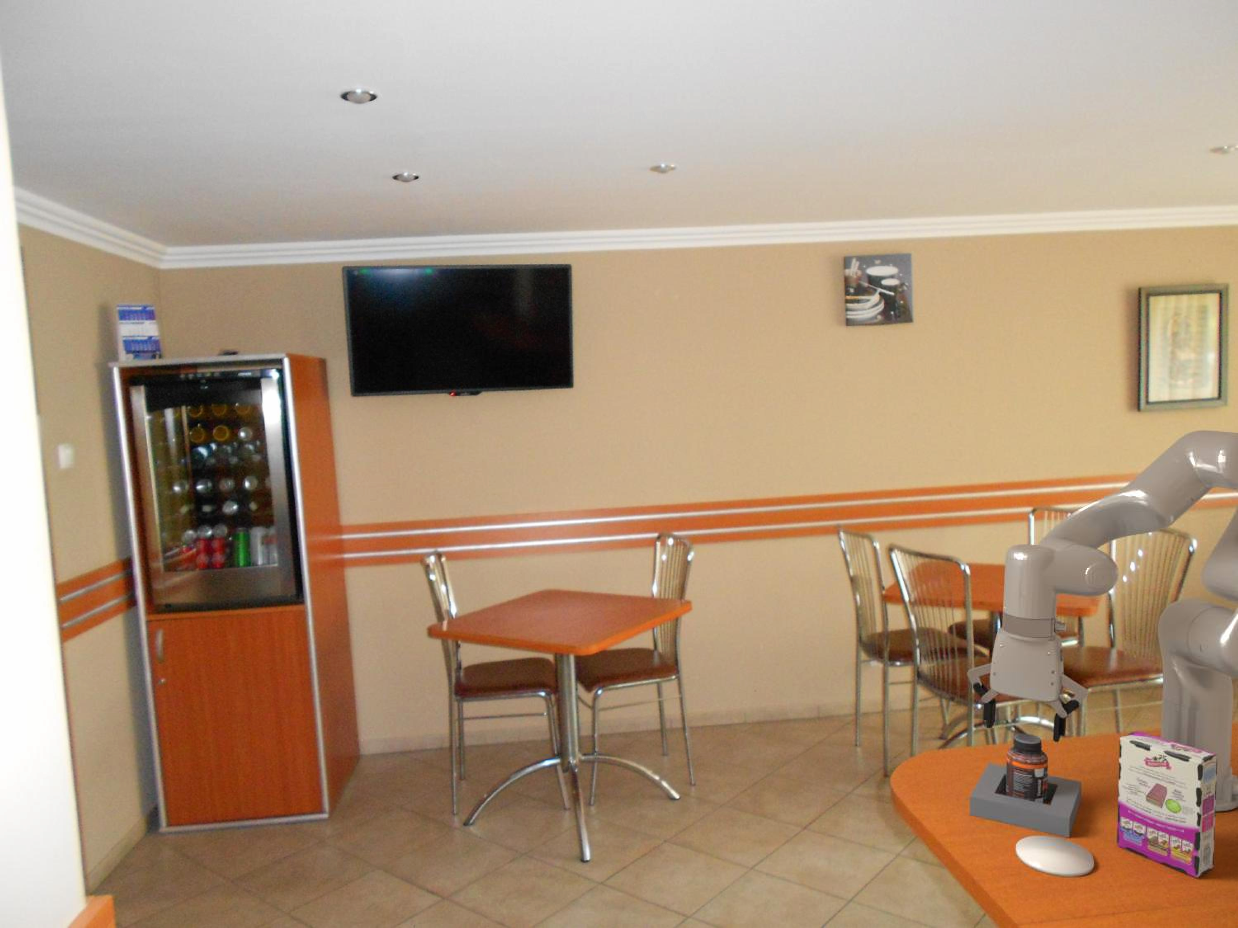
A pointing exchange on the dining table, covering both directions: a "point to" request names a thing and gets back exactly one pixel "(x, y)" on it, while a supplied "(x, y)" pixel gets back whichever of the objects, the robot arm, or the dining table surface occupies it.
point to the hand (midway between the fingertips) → (1023, 732)
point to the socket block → (1027, 803)
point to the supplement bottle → (1027, 769)
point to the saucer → (1055, 856)
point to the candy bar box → (1167, 802)
